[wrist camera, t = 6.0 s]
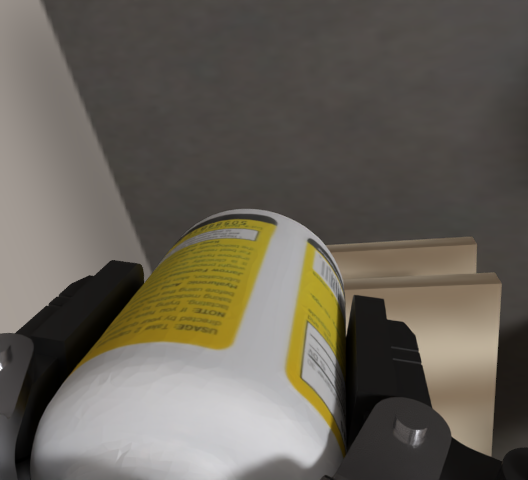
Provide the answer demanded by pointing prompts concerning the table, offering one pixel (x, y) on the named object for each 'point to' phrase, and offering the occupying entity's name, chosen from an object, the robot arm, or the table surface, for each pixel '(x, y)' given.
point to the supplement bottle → (212, 366)
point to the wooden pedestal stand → (437, 320)
